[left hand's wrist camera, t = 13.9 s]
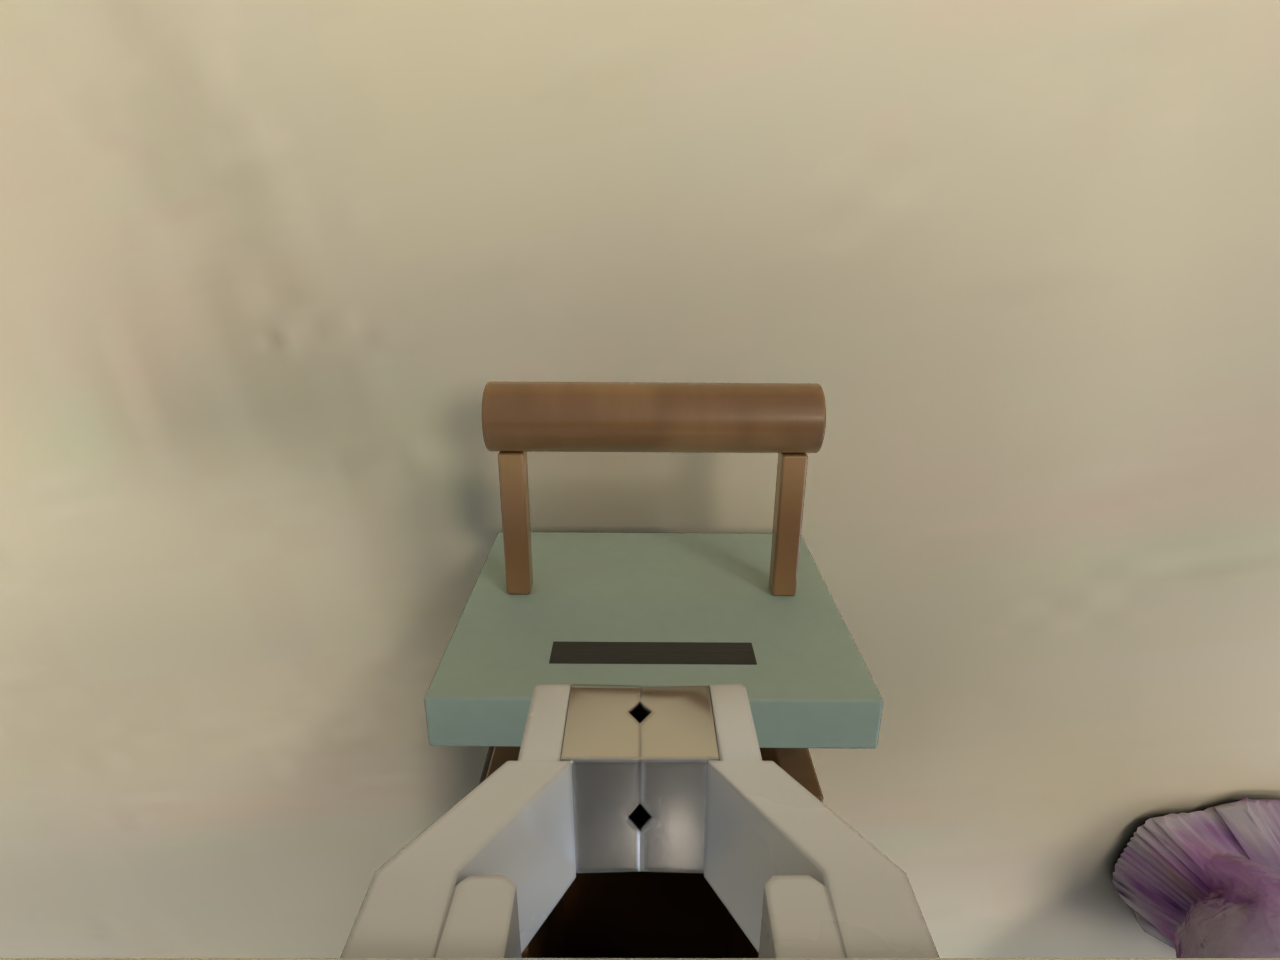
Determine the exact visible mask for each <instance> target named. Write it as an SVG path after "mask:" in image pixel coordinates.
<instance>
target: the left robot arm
mask: <svg viewBox="0 0 1280 960" xmlns="http://www.w3.org/2000/svg"><path fill="white" fill-rule="evenodd" d="M638 871H640V872H675V873H704V877H705V879H706V880H707V881H708V883H709V884H710V886H711V887H712V888H713V890H714V891H715V893H716V894H717V895H718V897H719V898H720V900H721V901H722V902H723V904H724V905H725V907H726V908H727V909H728V911H729V912H730V914H731V915H732V917H733V918H734V919H735V921H736V922H737V924H738V925H739V926H740V928H741V929H742V931H743V932H744V933H745V935H746V936H747V938H748V939H749V940H750V942H751V943H752V945H753V946H754V947H755V949H756V950H757V952H758V953H759V957H758V958H522V957H521V953H522V952H523V951H524V949H525V948H526V946H527V945H528V944H529V942H530V941H531V939H532V938H533V937H534V935H535V934H536V933H537V931H538V930H539V928H540V927H541V926H542V924H543V923H544V921H545V920H546V919H547V917H548V916H549V914H550V913H551V912H552V910H553V909H554V907H555V906H556V905H557V903H558V902H559V900H560V899H561V898H562V896H563V895H564V893H565V892H566V891H567V889H568V888H569V886H570V885H571V884H572V882H573V881H574V880H575V878H576V873H604V872H638ZM0 960H1280V958H940V957H939V955H938V952H937V950H936V947H935V945H934V942H933V940H932V938H931V935H930V933H929V930H928V928H927V925H926V923H925V920H924V918H923V915H922V913H921V910H920V908H919V905H918V903H917V900H916V898H915V895H914V893H913V890H912V888H911V885H910V883H909V880H908V878H907V875H906V873H905V872H904V871H902V870H901V869H900V868H899V867H898V866H897V865H895V864H894V863H893V862H892V861H891V860H889V859H888V858H887V857H886V856H885V855H884V854H882V853H881V852H880V851H879V850H878V849H876V848H875V847H874V846H873V845H872V844H871V843H869V842H868V841H867V840H866V839H865V838H863V837H862V836H861V835H860V834H859V833H858V832H856V831H855V830H854V829H853V828H852V827H850V826H849V825H848V824H847V823H846V822H844V821H843V820H842V819H841V818H840V817H839V816H837V815H836V814H835V813H834V812H833V811H831V810H830V809H829V808H828V807H827V806H826V805H824V804H823V803H822V802H821V801H820V800H818V799H817V798H816V797H815V796H814V795H813V794H811V793H810V792H809V791H808V790H807V789H805V788H804V787H803V786H802V785H801V784H800V783H798V782H797V781H796V780H795V779H794V778H792V777H791V776H790V775H789V774H788V773H787V772H785V771H784V770H783V769H782V768H781V767H779V766H778V765H777V764H776V763H775V762H774V761H762V757H761V752H760V748H759V744H758V739H757V735H756V731H755V726H754V722H753V717H752V713H751V709H750V704H749V700H748V695H747V691H746V687H745V686H744V685H743V684H742V683H740V684H709V685H707V686H640V685H597V684H572V685H570V684H537V686H536V687H535V688H534V690H533V695H532V699H531V704H530V708H529V712H528V717H527V721H526V726H525V730H524V735H523V739H522V743H521V748H520V752H519V757H518V761H507V762H505V763H504V764H503V765H502V766H501V767H499V768H498V769H497V770H496V771H495V772H493V773H492V774H491V775H490V776H489V777H488V778H486V779H485V780H484V781H483V782H482V783H480V784H479V785H478V786H477V787H476V788H474V789H473V790H472V791H471V792H470V793H469V794H467V795H466V796H465V797H464V798H463V799H461V800H460V801H459V802H458V803H457V804H455V805H454V806H453V807H452V808H451V809H449V810H448V811H447V812H446V813H445V814H444V815H442V816H441V817H440V818H439V819H438V820H436V821H435V822H434V823H433V824H432V825H430V826H429V827H428V828H427V829H426V830H425V831H423V832H422V833H421V834H420V835H419V836H417V837H416V838H415V839H414V840H413V841H411V842H410V843H409V844H408V845H407V846H406V847H404V848H403V849H402V850H401V851H400V852H398V853H397V854H396V855H395V856H394V857H392V858H391V859H390V860H389V861H388V862H386V863H385V864H384V865H383V866H382V867H381V868H379V869H378V870H377V871H376V872H375V874H374V876H373V879H372V881H371V884H370V886H369V889H368V891H367V893H366V896H365V898H364V901H363V903H362V906H361V908H360V911H359V913H358V916H357V918H356V920H355V923H354V925H353V928H352V930H351V933H350V935H349V938H348V940H347V942H346V945H345V947H344V950H343V952H342V955H341V957H340V958H0Z"/></svg>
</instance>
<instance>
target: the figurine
mask: <svg viewBox="0 0 1280 960" xmlns="http://www.w3.org/2000/svg"><path fill="white" fill-rule="evenodd" d="M1130 840H1131V842H1129V843H1127V847H1126V848H1124V852H1123V853H1122V854H1121V858H1119V859H1118V862H1117V863H1116V864H1115V871H1114V872H1112V874H1113V880H1112V882H1113V884H1114V886H1115V888H1116V890H1117V892H1118V894H1119V896H1120V897H1121V898H1122V899H1123V900H1124V901H1125V902H1126V903H1127V905H1129V906H1130V907H1131V908H1132V909H1134V913H1135V916H1136V919H1137V921H1138V923H1139V924H1140V926H1141V927H1142V929H1143V930H1144V931H1145V932H1146V933H1148V934H1150V935H1152V936H1153V937H1155V938H1157V939H1159V940H1160V941H1162V942H1164V943H1166V944H1168V945H1169V946H1171V947H1173V948H1175V949H1176V956H1177V958H1280V800H1279V799H1249V798H1244V799H1242V800H1240V801H1236V802H1231V803H1226V804H1221V805H1218V806H1215V807H1210V808H1207V809H1206V810H1204V811H1195V812H1190V813H1183V812H1181V813H1178V814H1173V813H1170V814H1167V815H1165V816H1160V817H1154V818H1150V819H1148V820H1146V822H1145V824H1144V825H1142V826H1140V827H1138V828H1137V831H1136V832H1134V836H1133V837H1132V838H1130Z"/></svg>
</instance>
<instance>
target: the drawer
mask: <svg viewBox="0 0 1280 960" xmlns="http://www.w3.org/2000/svg"><path fill="white" fill-rule="evenodd" d="M825 424H826V406H825V398H824V393H823V390H822V387H821V386H820V385H819V384H792V383H622V382H488V383H487V384H486V386H485V389H484V393H483V400H482V430H483V437H484V442H485V445H486V447H487V449H488V450H489V451H500V452H499V454H498V465H499V481H500V496H501V512H502V527H503V532H499V533H498V534H497V536H496V539H495V541H494V543H493V545H492V548H491V550H490V552H489V554H488V557H487V559H486V561H485V563H484V566H483V568H482V570H481V572H480V574H479V577H478V579H477V581H476V583H475V586H474V588H473V590H472V592H471V595H470V597H469V599H468V601H467V604H466V606H465V608H464V610H463V613H462V615H461V617H460V619H459V621H458V624H457V626H456V628H455V630H454V633H453V635H452V637H451V639H450V642H449V644H448V646H447V648H446V651H445V653H444V655H443V657H442V660H441V662H440V664H439V666H438V668H437V671H436V673H435V675H434V677H433V680H432V682H431V684H430V686H429V689H428V691H427V693H426V695H425V698H424V702H425V711H426V719H427V728H428V737H429V744H430V745H431V746H494V750H493V754H492V757H491V761H490V765H489V768H488V772H487V776H486V778H488V777H489V776H490V775H491V774H492V773H493V772H495V771H496V770H497V769H498V768H499V767H501V766H502V765H503V764H504V763H505V762H507V761H518V757H519V752H520V748H521V743H522V739H523V735H524V730H525V726H526V721H527V717H528V712H529V708H530V704H531V699H532V695H533V690H534V688H535V687H536V686H537V684H570V685H572V684H597V685H640V686H707V685H709V684H740V683H742V684H743V685H744V686H745V687H746V691H747V695H748V700H749V704H750V709H751V713H752V717H753V722H754V726H755V731H756V735H757V739H758V744H759V748H760V752H761V757H762V761H774V762H775V763H776V764H777V765H778V766H779V767H781V768H782V769H783V770H784V771H785V772H787V773H788V774H789V775H790V776H791V777H792V778H794V779H795V780H796V781H797V782H798V783H800V784H801V785H802V786H803V787H804V788H805V789H807V790H808V791H809V792H810V793H811V794H813V795H814V796H815V797H816V798H817V799H818V800H820V801H821V802H822V803H823V795H822V792H821V789H820V785H819V782H818V779H817V776H816V772H815V769H814V766H813V763H812V760H811V756H810V753H809V750H808V748H876V747H877V743H878V736H879V729H880V722H881V715H882V708H883V699H882V697H881V695H880V693H879V691H878V689H877V687H876V685H875V683H874V681H873V679H872V677H871V675H870V673H869V671H868V669H867V666H866V664H865V662H864V660H863V658H862V656H861V654H860V652H859V650H858V648H857V646H856V644H855V642H854V640H853V638H852V636H851V634H850V632H849V630H848V628H847V626H846V624H845V622H844V620H843V618H842V616H841V614H840V612H839V610H838V608H837V606H836V604H835V602H834V600H833V598H832V596H831V594H830V592H829V590H828V588H827V586H826V584H825V582H824V580H823V578H822V576H821V574H820V572H819V570H818V568H817V566H816V564H815V562H814V560H813V558H812V556H811V554H810V552H809V550H808V548H807V546H806V544H805V542H804V540H803V538H802V536H801V529H802V517H803V506H804V495H805V484H806V473H807V461H808V457H807V454H806V453H817V452H818V451H819V450H820V448H821V446H822V443H823V439H824V433H825ZM527 451H535V452H708V453H778V466H777V479H776V493H775V506H774V520H773V533H772V534H746V533H572V532H531V528H530V508H529V488H528V468H527ZM521 957H522V958H758V957H759V953H758V952H757V950H756V949H755V947H754V946H753V945H752V943H751V942H750V940H749V939H748V938H747V936H746V935H745V933H744V932H743V931H742V929H741V928H740V926H739V925H738V924H737V922H736V921H735V919H734V918H733V917H732V915H731V914H730V912H729V911H728V909H727V908H726V907H725V905H724V904H723V902H722V901H721V900H720V898H719V897H718V895H717V894H716V893H715V891H714V890H713V888H712V887H711V886H710V884H709V883H708V881H707V880H706V879H705V877H704V873H675V872H640V871H638V872H604V873H576V878H575V880H574V881H573V882H572V884H571V885H570V886H569V888H568V889H567V891H566V892H565V893H564V895H563V896H562V898H561V899H560V900H559V902H558V903H557V905H556V906H555V907H554V909H553V910H552V912H551V913H550V914H549V916H548V917H547V919H546V920H545V921H544V923H543V924H542V926H541V927H540V928H539V930H538V931H537V933H536V934H535V935H534V937H533V938H532V939H531V941H530V942H529V944H528V945H527V946H526V948H525V949H524V951H523V952H522V953H521Z"/></svg>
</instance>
